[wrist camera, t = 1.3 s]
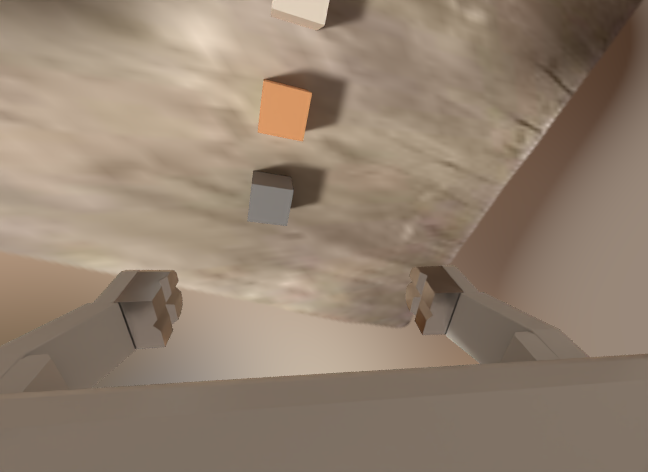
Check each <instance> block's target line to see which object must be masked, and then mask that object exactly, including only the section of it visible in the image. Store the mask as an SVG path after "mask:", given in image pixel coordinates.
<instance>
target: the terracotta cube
mask: <svg viewBox="0 0 648 472" xmlns="http://www.w3.org/2000/svg"><path fill="white" fill-rule="evenodd" d="M311 96H312V93H311V92H309V91H308V90H305V89H301V88H297V87H293V86H289V85H285V84H282V83H278V82H274V81H270V80H266V79H264V81H263V90H262V99H261V107H260V116H259V125H258V132H259V133H263V134H268V135H273V136H278V137H283V138H288V139H293V140H298V141H303V138H304V133H305V128H306V123H307V117H308V112H309V107H310V102H311Z"/></svg>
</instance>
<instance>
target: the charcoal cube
mask: <svg viewBox="0 0 648 472" xmlns="http://www.w3.org/2000/svg"><path fill="white" fill-rule="evenodd" d="M293 191H294V189H293V185H292V180H291V177H288V176H282V175H276V174H270V173H264V172H258V171H253V178H252V186H251V195H250V204H249V212H248V221H250V222H258V223H267V224H275V225H283V226H287V223H288V218H289V212H290V207H291V202H292V197H293Z"/></svg>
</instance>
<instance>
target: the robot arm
mask: <svg viewBox="0 0 648 472" xmlns="http://www.w3.org/2000/svg"><path fill="white" fill-rule="evenodd" d="M409 277H410V278H411V280H412V282H411V283H409V284H408V285H407V287H406V292H405V298H406V304H407V307H408V309H409V311H410V312H411V313H413V314H414V315H416V317H415V322H416V324H417V326H418V328H419V330H420V332H421V333H422V335H445V334H446V336H447V337H448V338H449V339H450V340H452V341H453V342H454V343H455V344H457V345H458V346H459V347H460V348H462V349H463V350H464V351H465V352H467V353H468V354H469V355H470V356H471V357H473V358H474V359H475V360H477V361H478V362H479V363H480V364H475V365H459V366H444V367H428V368H411V369H393V370H378V371H361V372H343V373H327V374H312V375H296V376H279V377H263V378H247V379H233V380H216V381H199V382H183V383H167V384H151V385H135V386H118V387H102V388H92V387H93V386H95V385H96V384H97V383H98V382H99V381H100V380H101V379H103V378H104V377H105V376H106V375H107V374H109V373H110V372H111V371H112V370H113V369H114V368H115V367H117V366H118V365H119V364H120V363H122V362H123V361H124V360H125V359H126V358H127V357H129V356H130V355H131V354H132V353H133V352H134V351H135V349H145V348H158V347H166V344H167V342H168V340H169V338H170V336H171V334H172V332H173V328H172V324H173V323H174V322H176V321H177V320H178V319H179V316H180V314H181V310H182V305H183V304H182V294H181V291H180V290H179V289H177V288H176V285H177V283H178V277H177V273H176V272H175V271H174V270H125V271H121V272H120V273H119V274H118V275H117V277H116V278H115V279H114V280H113V281H112V282H111V283H110V284H109V286H108V287H107V288H106V289H105V290H104V291H103V292H102V293H101V294H100V296H99V297H98V298H97V299H96V300H95V301H94V303H92V304H91V303H89V304H85V305H83V306H81V307H79V308H77V309H75V310H73V311H71V312H69V313H67V314H65V315H63V316H61V317H59V318H57V319H55V320H53V321H50V322H48V323H47V324H44V325H42V326H40V327H38V328H36V329H34V330H32V331H30V332H28V333H26V334H24V335H22V336H20V337H18V338H16V339H14V340H12V341H10V342H8V343H6V344H4V345H2V346H0V472H648V354H637V355H620V356H603V357H589V356H588V355H587V354H586V353H585V352H584V351H583V350H581V348H579V347H578V346H577V345H576V344H575V343H574V342H573V341H572V340H571V339H570V338H568V337H567V336H566V335H565V334H564V333H563V332H562V331H561V330H560V329H558V328H556V327H554V326H552V325H550V324H548V323H546V322H544V321H542V320H539V319H537V318H535V317H533V316H531V315H529V314H527V313H525V312H523V311H521V310H519V309H517V308H515V307H513V306H511V305H509V304H507V303H505V302H502V301H500V300H498V299H496V298H494V297H492V296H490V295H488V294H486V293H484V292H482V293H481V292H479V291H478V290H477V289H476V288H475V287H474V286H473V285H472V284H471V282H470V281H469V280H468V279H467V278H466V277H465V276H464V275H463V274H462V273H461V272H460V271H459V269H458V268H457V267H456V266H453V265H444V266H424V267H413V268H412V269H411V271H410V275H409Z"/></svg>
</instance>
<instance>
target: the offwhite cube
mask: <svg viewBox="0 0 648 472" xmlns="http://www.w3.org/2000/svg"><path fill="white" fill-rule="evenodd" d="M328 5H329V0H273V1H272V9H271V17H275V18H278V19H281V20H284V21H287V22H291V23H294V24H297V25H300V26H303V27H307V28H310V29H313V30H316V31H317V30H319V29H320V28H321V27H323V26H324V25H325V21H326V16H327V11H328Z"/></svg>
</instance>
